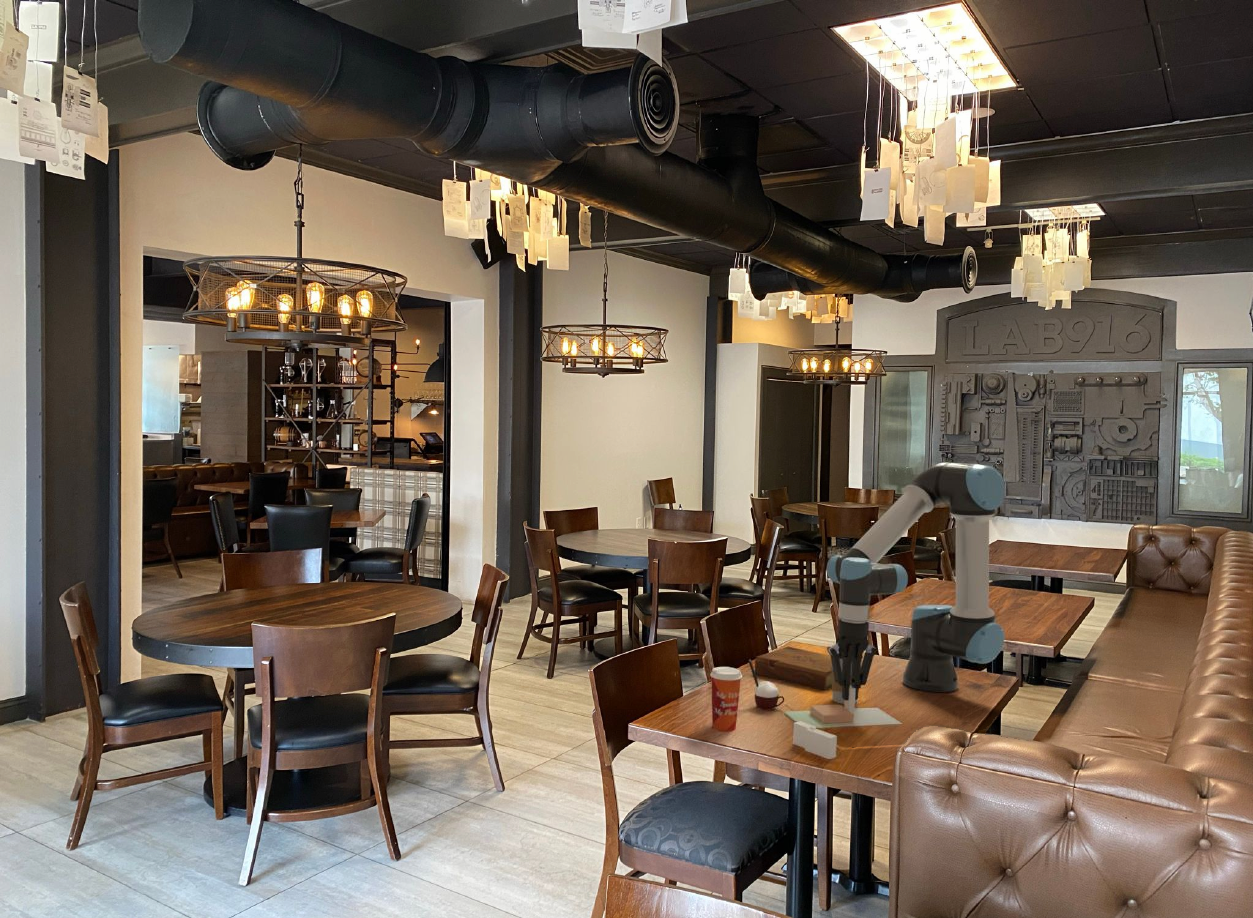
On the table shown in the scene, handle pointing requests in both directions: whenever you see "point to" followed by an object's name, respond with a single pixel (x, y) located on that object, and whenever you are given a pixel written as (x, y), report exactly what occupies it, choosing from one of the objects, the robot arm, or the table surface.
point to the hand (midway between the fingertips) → (849, 712)
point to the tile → (831, 713)
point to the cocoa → (765, 693)
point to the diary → (796, 667)
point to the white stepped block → (814, 740)
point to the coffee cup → (837, 688)
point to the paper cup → (725, 697)
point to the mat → (860, 719)
